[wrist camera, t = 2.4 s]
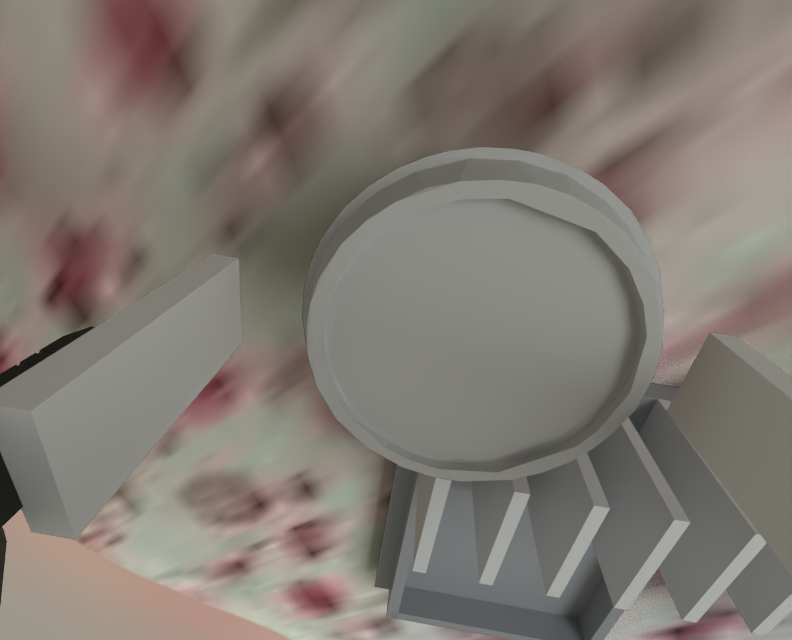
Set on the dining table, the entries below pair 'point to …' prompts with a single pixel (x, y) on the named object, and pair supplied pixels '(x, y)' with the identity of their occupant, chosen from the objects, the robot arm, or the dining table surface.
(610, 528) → the dish rack
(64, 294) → the dining table surface
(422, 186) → the disposable coffee cup
